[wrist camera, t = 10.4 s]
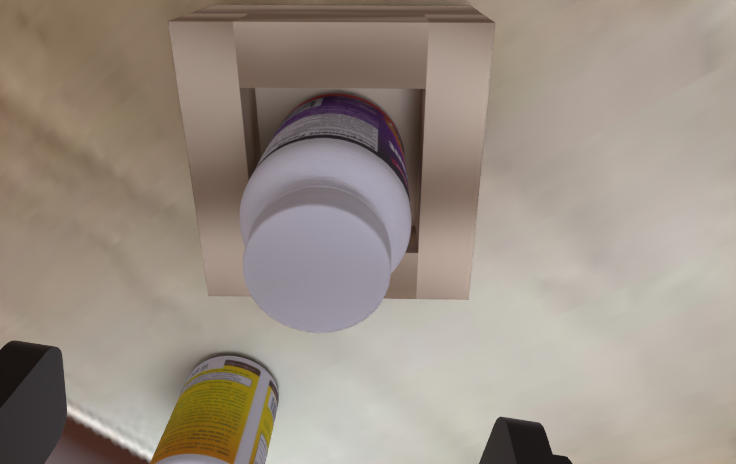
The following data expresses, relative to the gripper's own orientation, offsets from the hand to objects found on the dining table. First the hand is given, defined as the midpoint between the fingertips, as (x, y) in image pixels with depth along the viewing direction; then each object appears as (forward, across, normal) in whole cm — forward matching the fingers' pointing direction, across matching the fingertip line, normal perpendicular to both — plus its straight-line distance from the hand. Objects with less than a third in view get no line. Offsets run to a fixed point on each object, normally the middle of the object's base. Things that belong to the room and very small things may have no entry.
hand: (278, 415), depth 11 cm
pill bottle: (+15, 0, 0) cm, 15 cm away
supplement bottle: (+18, +4, +17) cm, 25 cm away
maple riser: (+18, 0, 0) cm, 18 cm away
